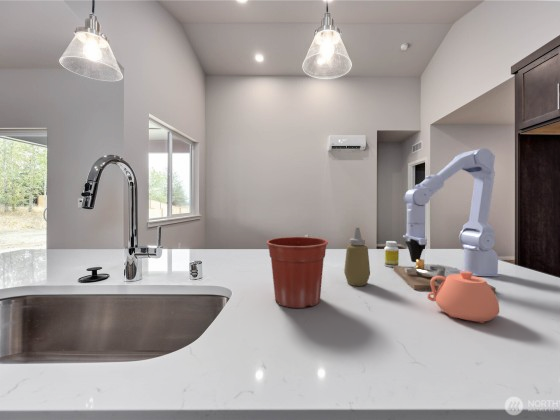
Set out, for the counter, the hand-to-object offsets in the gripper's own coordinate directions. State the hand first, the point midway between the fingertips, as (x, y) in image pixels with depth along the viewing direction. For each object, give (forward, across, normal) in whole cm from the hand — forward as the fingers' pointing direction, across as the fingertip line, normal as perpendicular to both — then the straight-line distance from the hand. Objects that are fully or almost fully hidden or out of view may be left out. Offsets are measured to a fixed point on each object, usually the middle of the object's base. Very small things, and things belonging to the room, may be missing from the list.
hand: (415, 261), depth 94 cm
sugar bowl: (+5, +32, 0) cm, 32 cm away
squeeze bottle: (+5, +12, -22) cm, 25 cm away
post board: (+5, +4, +6) cm, 9 cm away
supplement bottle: (+5, -14, -4) cm, 15 cm away
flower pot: (+5, +28, -39) cm, 48 cm away
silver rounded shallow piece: (+2, +5, +4) cm, 7 cm away
